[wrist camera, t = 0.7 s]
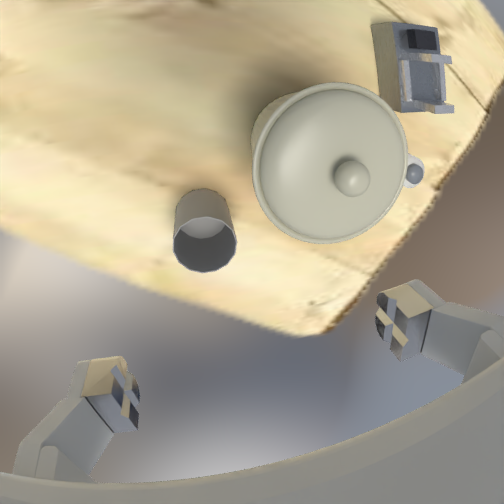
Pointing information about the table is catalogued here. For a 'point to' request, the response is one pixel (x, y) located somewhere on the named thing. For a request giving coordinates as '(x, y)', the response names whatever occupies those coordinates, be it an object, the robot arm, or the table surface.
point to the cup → (203, 232)
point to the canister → (328, 161)
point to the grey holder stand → (410, 67)
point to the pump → (413, 172)
